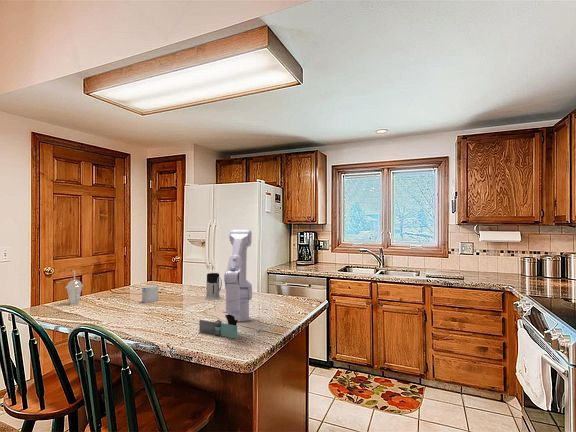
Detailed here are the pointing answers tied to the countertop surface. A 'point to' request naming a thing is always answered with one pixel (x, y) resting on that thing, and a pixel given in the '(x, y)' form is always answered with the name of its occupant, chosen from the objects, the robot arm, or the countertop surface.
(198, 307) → the countertop surface
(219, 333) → the fixed steel leaf
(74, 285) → the cup with straw
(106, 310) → the countertop surface
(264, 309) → the countertop surface
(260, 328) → the mounting bracket
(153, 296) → the medicine box
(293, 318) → the countertop surface
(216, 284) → the grey container
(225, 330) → the teal swing leaf
